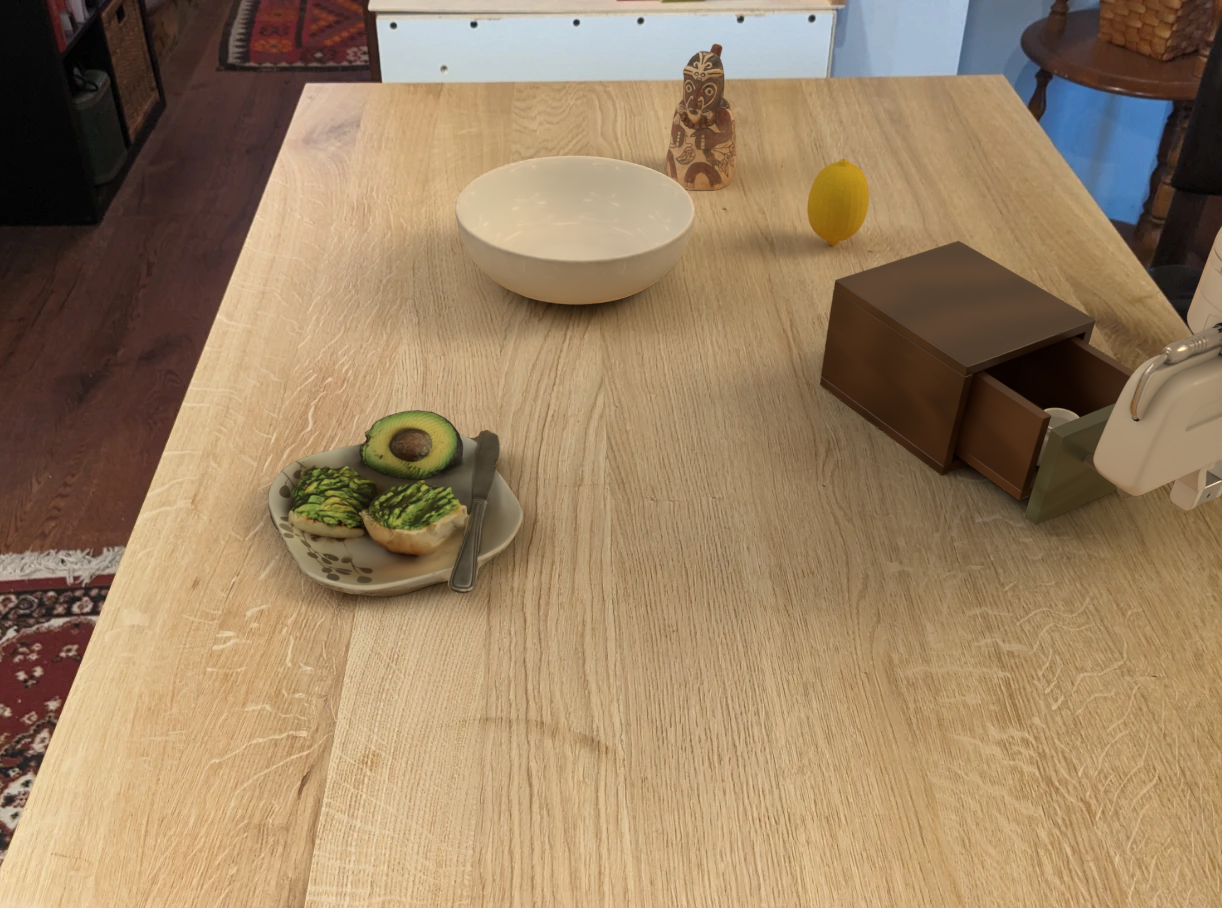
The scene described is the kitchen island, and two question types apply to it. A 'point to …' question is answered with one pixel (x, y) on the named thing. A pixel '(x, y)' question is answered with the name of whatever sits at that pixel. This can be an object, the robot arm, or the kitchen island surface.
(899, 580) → the kitchen island surface
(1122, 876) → the kitchen island surface
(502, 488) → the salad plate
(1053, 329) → the cabinet
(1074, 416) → the white jar
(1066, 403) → the drawer
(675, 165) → the figurine
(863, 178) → the lemon
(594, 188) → the serving bowl
